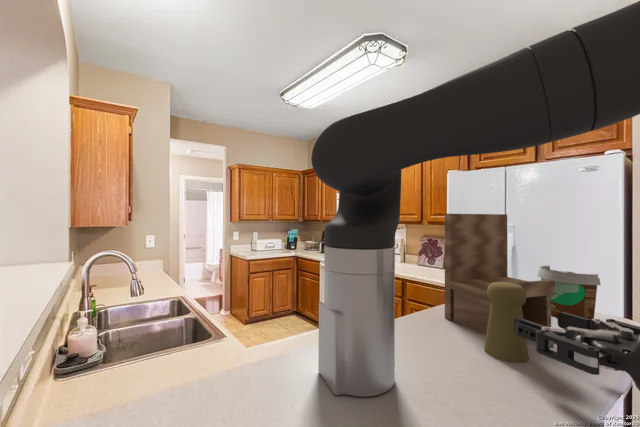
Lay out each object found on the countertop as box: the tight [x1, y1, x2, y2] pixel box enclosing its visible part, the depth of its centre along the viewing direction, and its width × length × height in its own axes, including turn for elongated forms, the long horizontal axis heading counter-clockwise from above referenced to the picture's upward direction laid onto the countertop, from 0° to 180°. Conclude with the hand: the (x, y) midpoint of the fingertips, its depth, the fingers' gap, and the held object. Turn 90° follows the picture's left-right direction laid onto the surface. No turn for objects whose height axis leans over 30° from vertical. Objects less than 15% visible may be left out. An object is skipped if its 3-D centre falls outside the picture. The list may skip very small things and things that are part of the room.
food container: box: [537, 265, 601, 319], centre depth 66 cm, size 12×6×10 cm, turn 6°
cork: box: [483, 282, 531, 364], centre depth 47 cm, size 6×6×11 cm
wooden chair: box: [444, 213, 555, 336], centre depth 61 cm, size 16×12×22 cm
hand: (538, 322), depth 42 cm, fingers open, 8 cm apart
